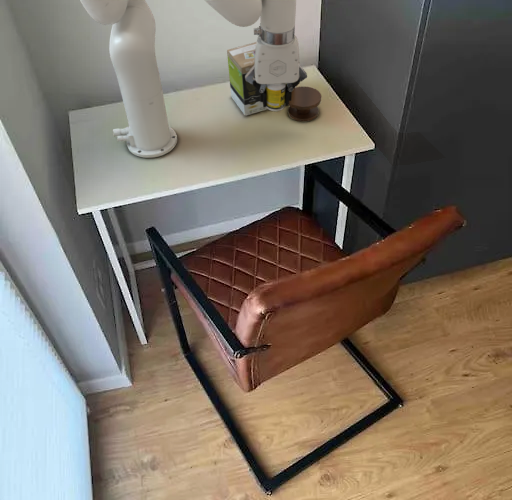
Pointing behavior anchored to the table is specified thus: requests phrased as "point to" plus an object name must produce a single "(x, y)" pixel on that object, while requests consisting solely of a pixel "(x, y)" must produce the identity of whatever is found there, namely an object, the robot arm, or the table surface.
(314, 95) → the stand
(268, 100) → the supplement bottle
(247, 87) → the tea box
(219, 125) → the table surface
